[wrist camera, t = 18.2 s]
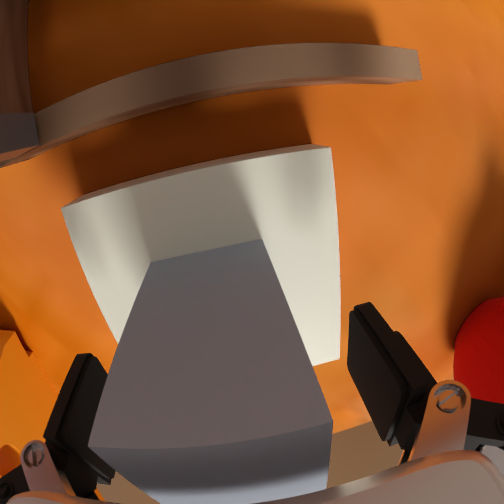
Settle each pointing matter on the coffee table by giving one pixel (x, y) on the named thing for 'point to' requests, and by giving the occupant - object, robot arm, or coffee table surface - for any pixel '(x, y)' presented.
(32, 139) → the grey arch
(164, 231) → the plinth
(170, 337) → the block
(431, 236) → the coffee table surface
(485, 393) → the ceramic cup
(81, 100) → the rack
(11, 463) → the bracket
